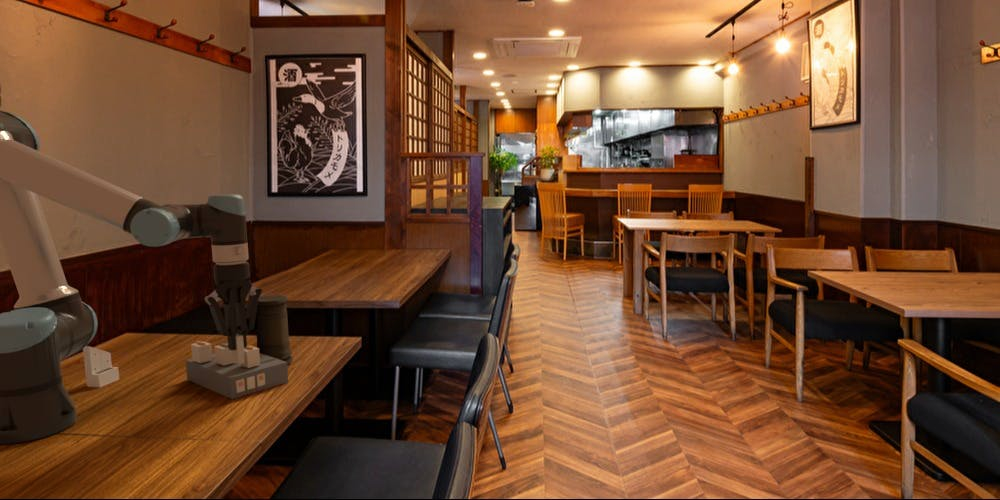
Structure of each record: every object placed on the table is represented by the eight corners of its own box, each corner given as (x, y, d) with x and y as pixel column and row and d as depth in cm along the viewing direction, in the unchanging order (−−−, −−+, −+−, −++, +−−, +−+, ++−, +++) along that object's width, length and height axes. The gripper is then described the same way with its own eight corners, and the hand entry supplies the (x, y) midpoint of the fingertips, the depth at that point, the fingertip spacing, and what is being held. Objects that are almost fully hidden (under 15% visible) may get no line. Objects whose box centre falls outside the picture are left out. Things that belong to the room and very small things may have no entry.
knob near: (248, 368, 140) (246, 349, 140) (239, 364, 143) (238, 346, 142) (260, 364, 143) (259, 346, 142) (251, 361, 145) (250, 343, 145)
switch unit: (233, 399, 135) (231, 378, 134) (187, 379, 149) (185, 359, 148) (289, 382, 146) (288, 362, 145) (241, 365, 160) (240, 346, 159)
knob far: (200, 363, 144) (198, 344, 144) (192, 360, 147) (190, 342, 146) (212, 360, 147) (211, 342, 146) (204, 357, 149) (203, 339, 149)
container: (297, 359, 164) (294, 294, 162) (283, 369, 156) (278, 301, 153) (266, 358, 165) (262, 294, 163) (249, 369, 156) (245, 301, 154)
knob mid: (223, 365, 142) (222, 347, 142) (215, 362, 145) (214, 344, 144) (236, 362, 145) (234, 344, 144) (227, 359, 147) (226, 341, 147)
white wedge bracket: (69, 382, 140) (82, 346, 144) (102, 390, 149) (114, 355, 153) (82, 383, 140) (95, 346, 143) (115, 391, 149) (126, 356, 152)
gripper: (210, 267, 130) (219, 373, 133) (266, 259, 140) (273, 358, 143) (194, 264, 135) (203, 366, 138) (249, 257, 145) (256, 352, 148)
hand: (239, 362), depth 140 cm, fingers closed
